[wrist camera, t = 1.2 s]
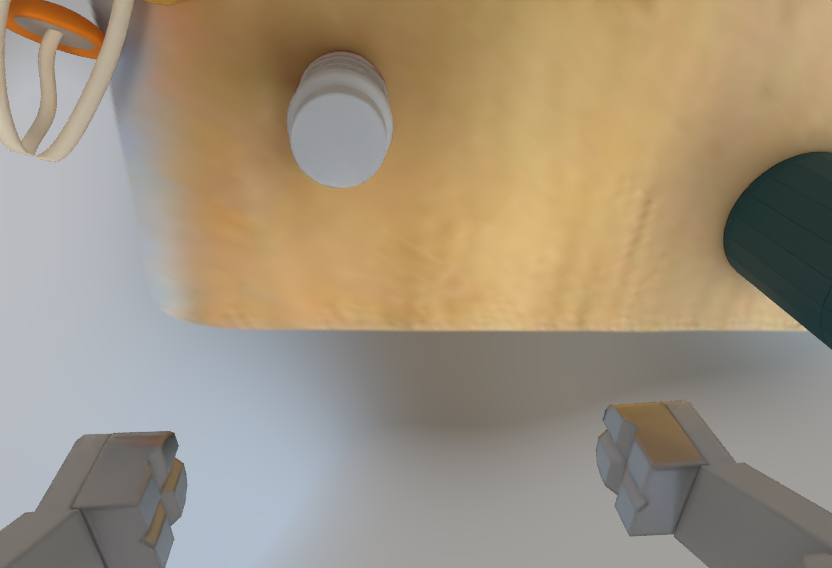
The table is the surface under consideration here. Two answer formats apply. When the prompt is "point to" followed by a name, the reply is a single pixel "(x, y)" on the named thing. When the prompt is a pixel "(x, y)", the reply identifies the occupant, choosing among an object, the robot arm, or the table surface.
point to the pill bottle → (340, 120)
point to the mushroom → (54, 29)
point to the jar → (788, 239)
